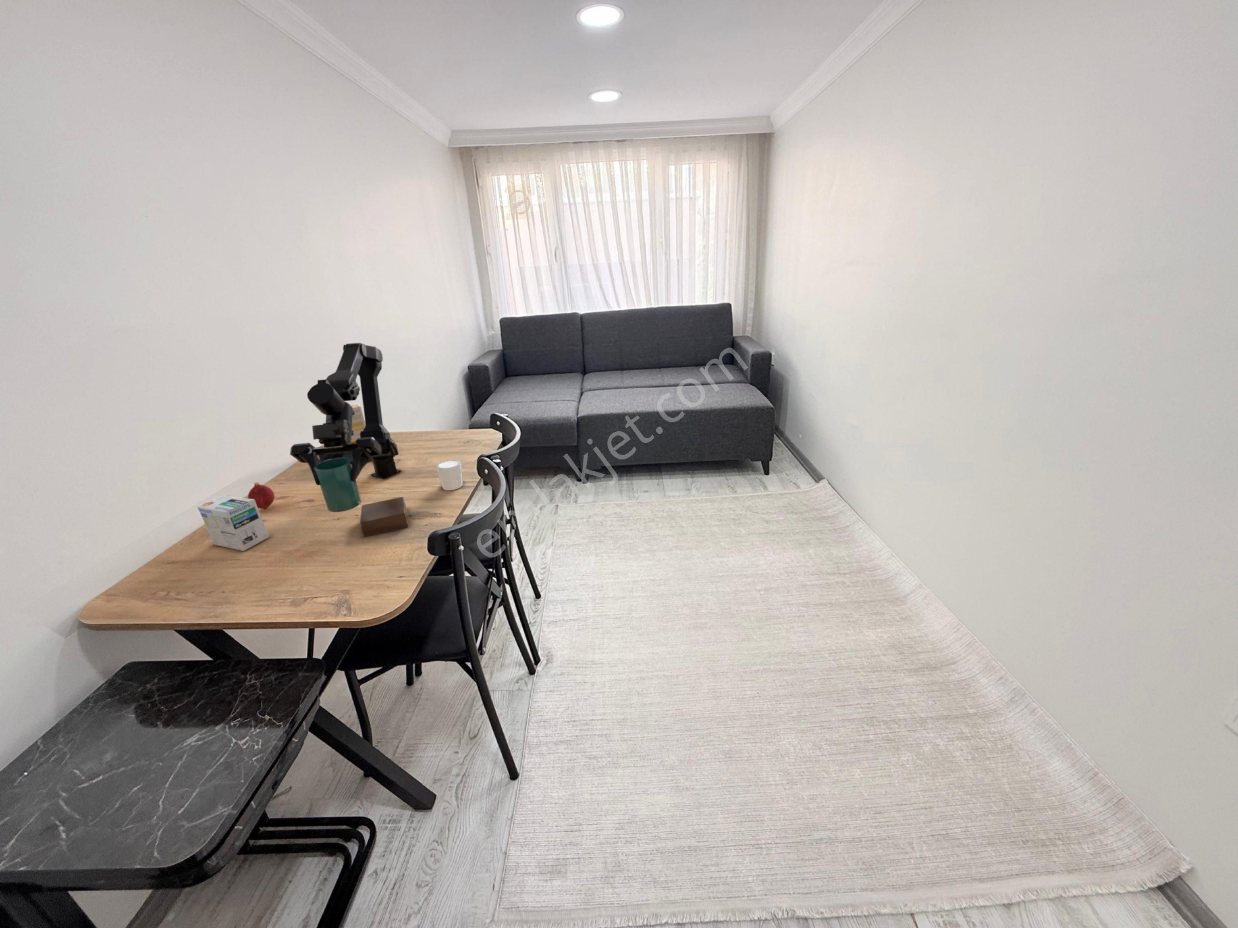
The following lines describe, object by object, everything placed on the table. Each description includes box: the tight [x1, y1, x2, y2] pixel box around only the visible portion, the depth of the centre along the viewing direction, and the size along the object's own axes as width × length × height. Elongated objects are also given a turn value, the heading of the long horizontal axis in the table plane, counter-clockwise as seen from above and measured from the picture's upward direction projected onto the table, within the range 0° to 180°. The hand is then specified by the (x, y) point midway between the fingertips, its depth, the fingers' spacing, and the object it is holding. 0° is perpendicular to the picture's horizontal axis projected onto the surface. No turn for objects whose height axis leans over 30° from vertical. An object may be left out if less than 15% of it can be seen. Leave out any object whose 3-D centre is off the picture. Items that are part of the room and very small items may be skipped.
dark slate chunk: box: [319, 452, 372, 465], centre depth 167 cm, size 15×22×5 cm
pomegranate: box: [247, 481, 275, 510], centre depth 134 cm, size 6×6×8 cm
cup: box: [315, 458, 362, 513], centre depth 118 cm, size 7×7×11 cm
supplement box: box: [350, 403, 366, 444], centre depth 181 cm, size 8×5×13 cm, turn 123°
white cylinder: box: [435, 459, 464, 491], centre depth 143 cm, size 7×7×7 cm
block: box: [359, 496, 409, 538], centre depth 125 cm, size 10×10×4 cm
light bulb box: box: [196, 494, 270, 552], centre depth 118 cm, size 11×7×11 cm, turn 71°
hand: (335, 482), depth 117 cm, fingers closed on cup, 7 cm apart
